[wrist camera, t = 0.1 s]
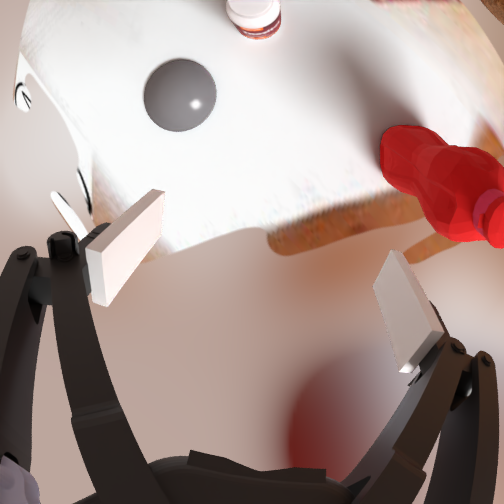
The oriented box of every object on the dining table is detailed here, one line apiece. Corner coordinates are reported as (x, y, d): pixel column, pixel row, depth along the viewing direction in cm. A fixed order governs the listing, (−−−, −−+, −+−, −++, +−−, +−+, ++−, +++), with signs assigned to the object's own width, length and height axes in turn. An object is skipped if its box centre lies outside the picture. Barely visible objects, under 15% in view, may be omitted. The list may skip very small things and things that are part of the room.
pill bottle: (246, 46, 33) (232, 30, 23) (229, 12, 30) (210, -12, 21) (288, 32, 31) (289, 10, 22) (271, -2, 28) (265, -32, 19)
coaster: (152, 58, 34) (150, 58, 34) (223, 64, 34) (222, 64, 34) (141, 126, 40) (140, 127, 39) (209, 136, 40) (208, 137, 39)
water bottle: (438, 183, 39) (535, 269, 17) (377, 183, 41) (454, 280, 19) (440, 126, 34) (558, 176, 13) (376, 123, 36) (475, 166, 15)
